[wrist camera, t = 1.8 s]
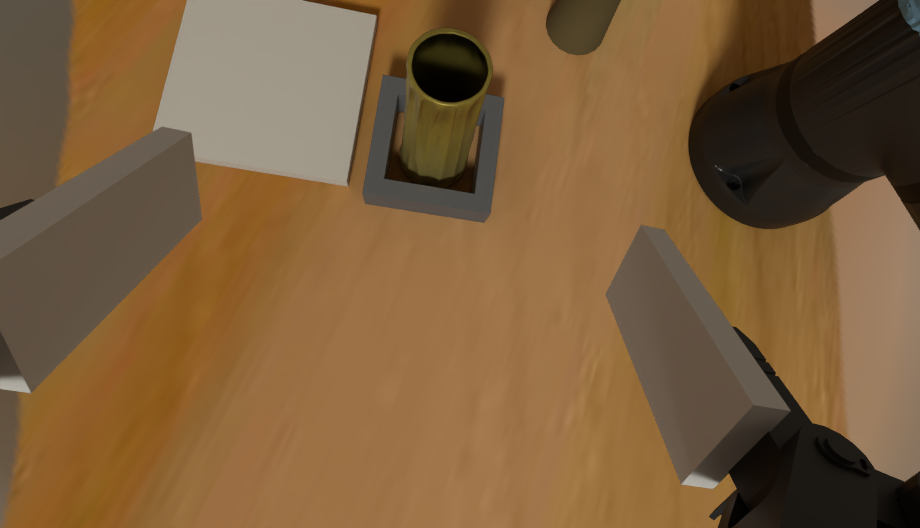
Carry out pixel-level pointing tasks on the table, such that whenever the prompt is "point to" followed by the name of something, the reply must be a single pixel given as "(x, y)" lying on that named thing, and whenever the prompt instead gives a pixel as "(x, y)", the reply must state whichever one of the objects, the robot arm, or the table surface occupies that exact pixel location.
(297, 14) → the board
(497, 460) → the table surface
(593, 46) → the olive brown pawn
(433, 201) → the collar
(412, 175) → the vase
